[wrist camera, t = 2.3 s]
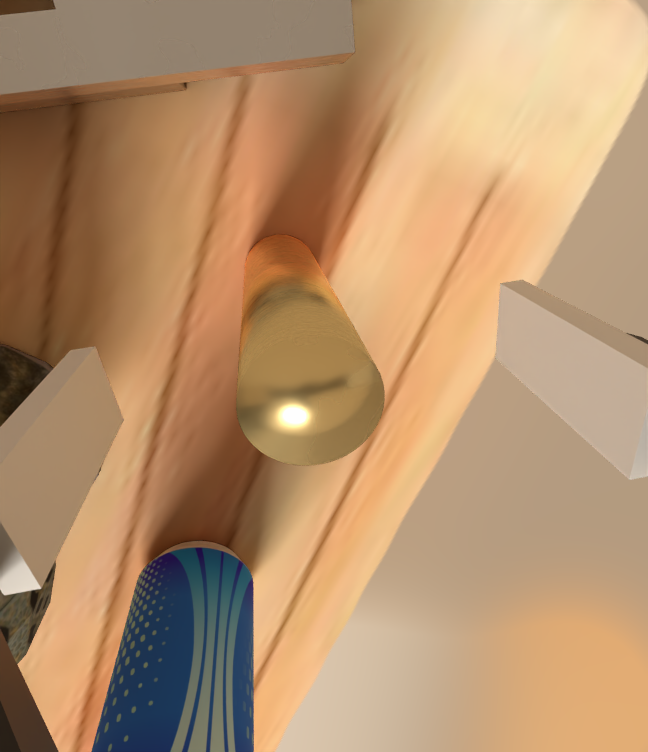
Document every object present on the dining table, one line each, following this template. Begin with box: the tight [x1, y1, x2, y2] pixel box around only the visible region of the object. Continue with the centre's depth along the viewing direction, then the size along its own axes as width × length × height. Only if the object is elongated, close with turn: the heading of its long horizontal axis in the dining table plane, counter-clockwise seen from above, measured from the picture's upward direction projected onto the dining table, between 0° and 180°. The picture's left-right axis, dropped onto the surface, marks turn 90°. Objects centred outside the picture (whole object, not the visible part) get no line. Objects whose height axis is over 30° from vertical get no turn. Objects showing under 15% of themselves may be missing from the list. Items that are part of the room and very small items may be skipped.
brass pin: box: [236, 234, 384, 466], centre depth 19 cm, size 4×4×15 cm
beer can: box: [92, 541, 254, 752], centre depth 28 cm, size 8×8×16 cm
